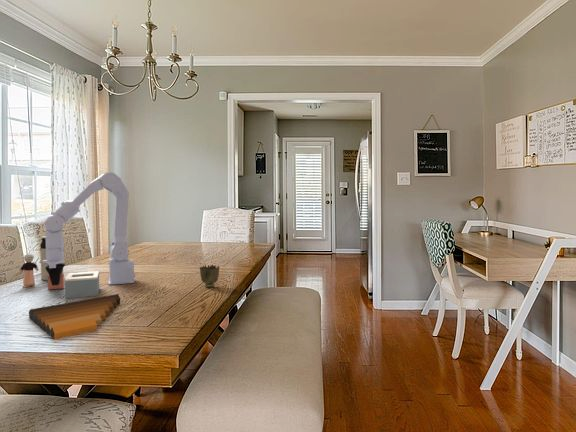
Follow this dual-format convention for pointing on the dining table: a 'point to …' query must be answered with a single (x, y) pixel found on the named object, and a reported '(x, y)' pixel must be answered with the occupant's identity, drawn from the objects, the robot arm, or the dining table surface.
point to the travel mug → (43, 257)
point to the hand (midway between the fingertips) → (56, 284)
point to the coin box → (82, 284)
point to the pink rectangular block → (61, 285)
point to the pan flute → (73, 316)
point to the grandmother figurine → (28, 271)
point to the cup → (209, 275)
